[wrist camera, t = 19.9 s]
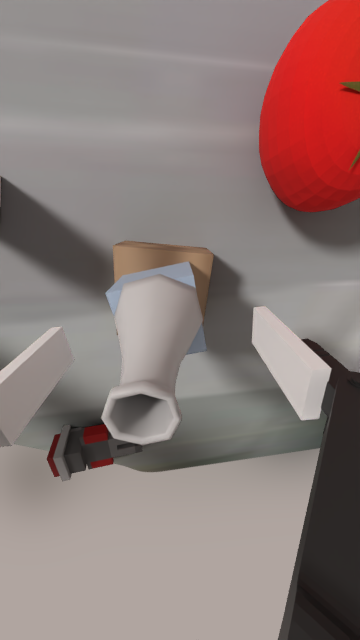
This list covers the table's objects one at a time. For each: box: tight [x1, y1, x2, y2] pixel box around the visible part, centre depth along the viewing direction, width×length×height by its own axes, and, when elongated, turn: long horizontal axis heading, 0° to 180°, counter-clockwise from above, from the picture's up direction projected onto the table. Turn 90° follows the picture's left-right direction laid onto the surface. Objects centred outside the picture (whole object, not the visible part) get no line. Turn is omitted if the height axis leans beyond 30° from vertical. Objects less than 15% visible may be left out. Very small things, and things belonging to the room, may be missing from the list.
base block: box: [113, 241, 214, 335], centre depth 26 cm, size 10×10×6 cm
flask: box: [101, 274, 203, 445], centre depth 13 cm, size 7×7×10 cm
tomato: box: [259, 0, 360, 212], centre depth 17 cm, size 12×13×11 cm
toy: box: [47, 424, 142, 481], centre depth 39 cm, size 9×6×15 cm
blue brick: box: [105, 261, 207, 355], centre depth 20 cm, size 7×7×6 cm
